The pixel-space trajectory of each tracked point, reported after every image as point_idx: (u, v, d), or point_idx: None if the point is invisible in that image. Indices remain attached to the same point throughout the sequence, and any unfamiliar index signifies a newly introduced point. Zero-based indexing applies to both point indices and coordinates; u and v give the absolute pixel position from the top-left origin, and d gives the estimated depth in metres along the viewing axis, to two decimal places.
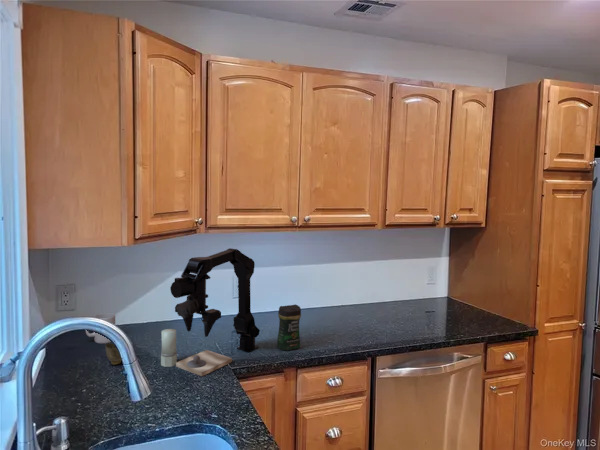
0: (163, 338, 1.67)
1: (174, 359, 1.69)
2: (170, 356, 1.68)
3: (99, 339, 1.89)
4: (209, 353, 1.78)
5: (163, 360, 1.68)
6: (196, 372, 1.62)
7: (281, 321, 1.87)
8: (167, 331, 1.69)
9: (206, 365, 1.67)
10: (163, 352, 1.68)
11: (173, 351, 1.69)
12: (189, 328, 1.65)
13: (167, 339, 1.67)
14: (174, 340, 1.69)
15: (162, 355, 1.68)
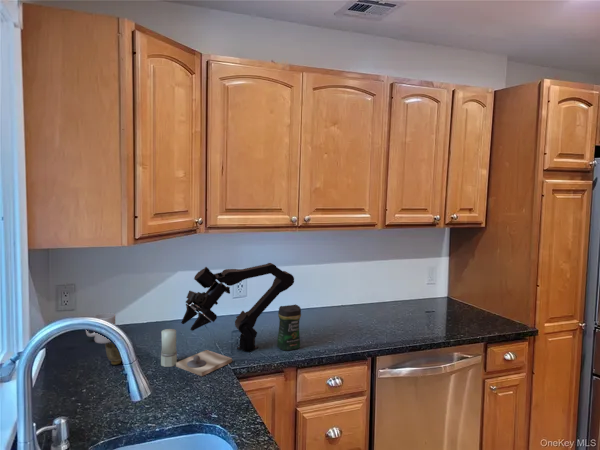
0: (163, 338, 1.67)
1: (174, 359, 1.69)
2: (170, 356, 1.68)
3: (99, 339, 1.89)
4: (209, 353, 1.78)
5: (163, 360, 1.68)
6: (196, 372, 1.62)
7: (281, 321, 1.87)
8: (167, 331, 1.69)
9: (206, 365, 1.67)
10: (163, 352, 1.68)
11: (173, 351, 1.69)
12: (184, 321, 1.77)
13: (167, 339, 1.67)
14: (174, 340, 1.69)
15: (162, 355, 1.68)
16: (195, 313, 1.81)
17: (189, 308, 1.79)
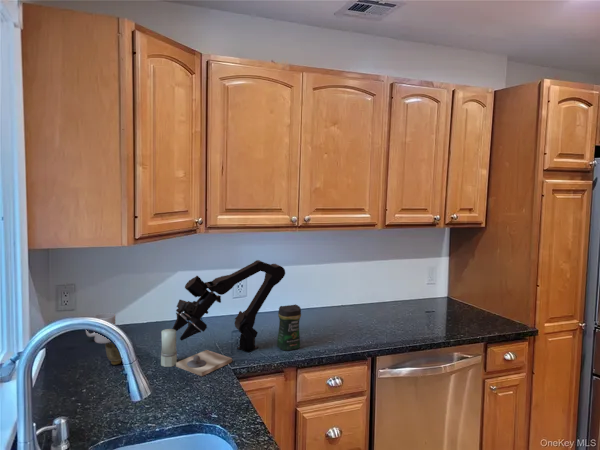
0: (163, 338, 1.67)
1: (174, 359, 1.69)
2: (170, 356, 1.68)
3: (99, 339, 1.89)
4: (209, 353, 1.78)
5: (163, 360, 1.68)
6: (196, 372, 1.62)
7: (281, 321, 1.87)
8: (167, 331, 1.69)
9: (206, 365, 1.67)
10: (163, 352, 1.68)
11: (173, 351, 1.69)
12: None
13: (167, 339, 1.67)
14: (174, 340, 1.69)
15: (162, 355, 1.68)
16: (185, 322, 1.79)
17: (179, 317, 1.77)
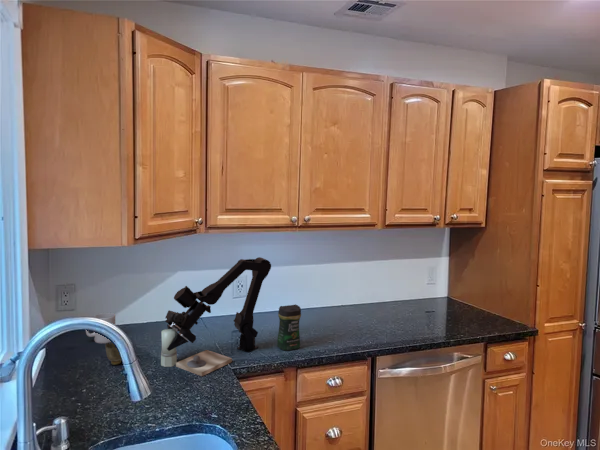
0: (163, 338, 1.67)
1: (174, 359, 1.69)
2: (170, 356, 1.68)
3: (99, 339, 1.89)
4: (209, 353, 1.78)
5: (163, 360, 1.68)
6: (196, 372, 1.62)
7: (281, 321, 1.87)
8: (167, 331, 1.69)
9: (206, 365, 1.67)
10: (163, 352, 1.68)
11: (173, 351, 1.69)
12: None
13: (167, 339, 1.67)
14: None
15: (162, 355, 1.68)
16: None
17: None
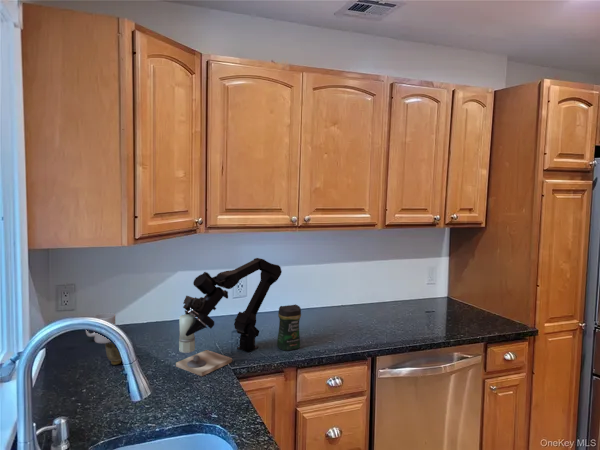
0: (181, 323, 1.65)
1: (192, 345, 1.67)
2: (188, 341, 1.66)
3: (99, 339, 1.89)
4: (209, 353, 1.78)
5: (181, 346, 1.66)
6: (196, 372, 1.62)
7: (281, 321, 1.87)
8: (185, 316, 1.67)
9: (206, 365, 1.67)
10: (181, 338, 1.66)
11: (191, 337, 1.66)
12: None
13: (185, 324, 1.65)
14: None
15: (180, 341, 1.66)
16: None
17: None
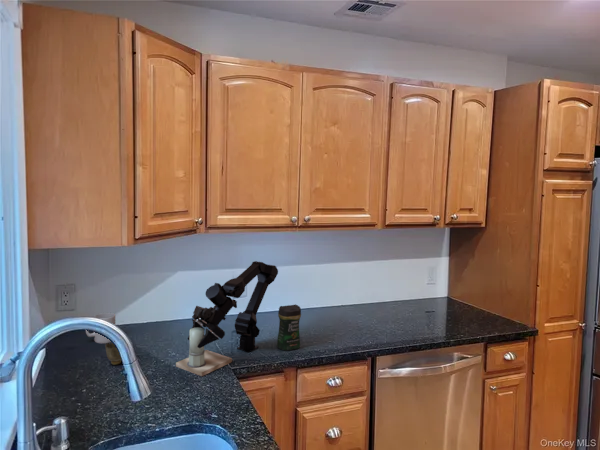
0: (191, 337, 1.64)
1: (202, 358, 1.66)
2: (198, 355, 1.65)
3: (99, 339, 1.89)
4: (209, 353, 1.78)
5: (191, 359, 1.65)
6: (196, 372, 1.62)
7: (281, 321, 1.87)
8: (195, 329, 1.66)
9: (206, 365, 1.67)
10: (191, 351, 1.65)
11: (201, 350, 1.66)
12: None
13: (195, 337, 1.64)
14: None
15: (190, 354, 1.65)
16: None
17: (196, 324, 1.72)
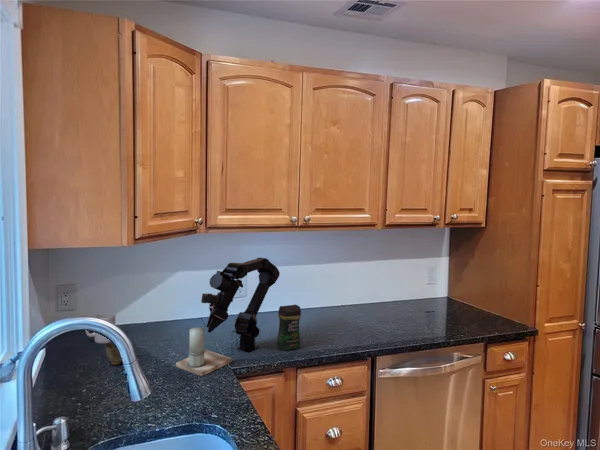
0: (191, 337, 1.64)
1: (202, 358, 1.66)
2: (198, 355, 1.65)
3: (99, 339, 1.89)
4: (209, 353, 1.78)
5: (191, 359, 1.65)
6: (196, 372, 1.62)
7: (281, 321, 1.87)
8: (195, 329, 1.66)
9: (206, 365, 1.67)
10: (191, 351, 1.65)
11: (201, 350, 1.66)
12: (209, 324, 1.77)
13: (195, 337, 1.64)
14: (202, 339, 1.66)
15: (190, 354, 1.65)
16: None
17: (211, 311, 1.78)
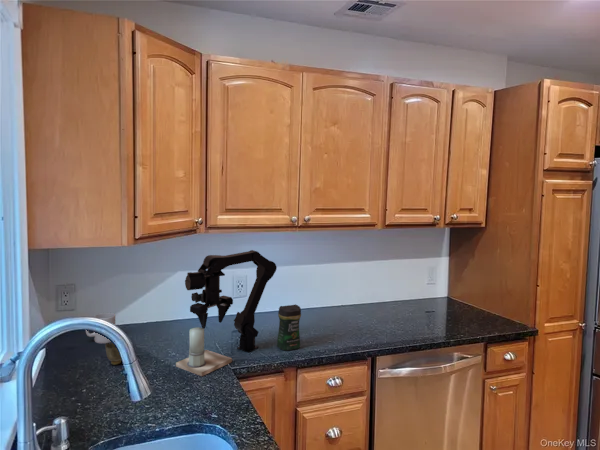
0: (191, 337, 1.64)
1: (202, 358, 1.66)
2: (198, 355, 1.65)
3: (99, 339, 1.89)
4: (209, 353, 1.78)
5: (191, 359, 1.65)
6: (196, 372, 1.62)
7: (281, 321, 1.87)
8: (195, 329, 1.66)
9: (206, 365, 1.67)
10: (191, 351, 1.65)
11: (201, 350, 1.66)
12: (219, 320, 1.81)
13: (195, 337, 1.64)
14: (202, 339, 1.66)
15: (190, 354, 1.65)
16: (224, 308, 1.80)
17: (218, 306, 1.82)
